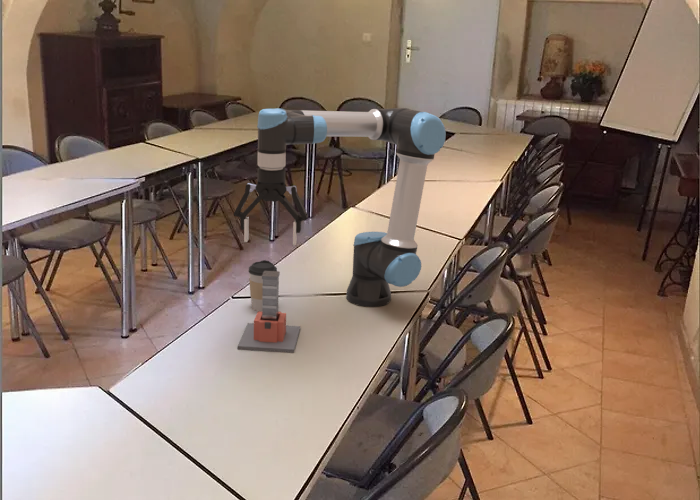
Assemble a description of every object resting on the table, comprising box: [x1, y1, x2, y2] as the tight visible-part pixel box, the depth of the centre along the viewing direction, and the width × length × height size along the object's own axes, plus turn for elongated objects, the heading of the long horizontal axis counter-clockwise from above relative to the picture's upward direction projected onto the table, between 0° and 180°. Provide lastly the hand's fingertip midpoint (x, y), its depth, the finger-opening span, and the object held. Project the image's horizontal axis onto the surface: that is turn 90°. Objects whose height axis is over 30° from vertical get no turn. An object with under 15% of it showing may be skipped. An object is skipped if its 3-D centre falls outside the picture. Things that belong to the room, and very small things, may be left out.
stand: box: [237, 311, 301, 354], centre depth 208 cm, size 16×16×7 cm
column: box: [261, 270, 281, 321], centre depth 205 cm, size 4×4×19 cm
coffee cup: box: [248, 259, 278, 312], centre depth 229 cm, size 9×9×15 cm
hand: (270, 242), depth 200 cm, fingers open, 13 cm apart
